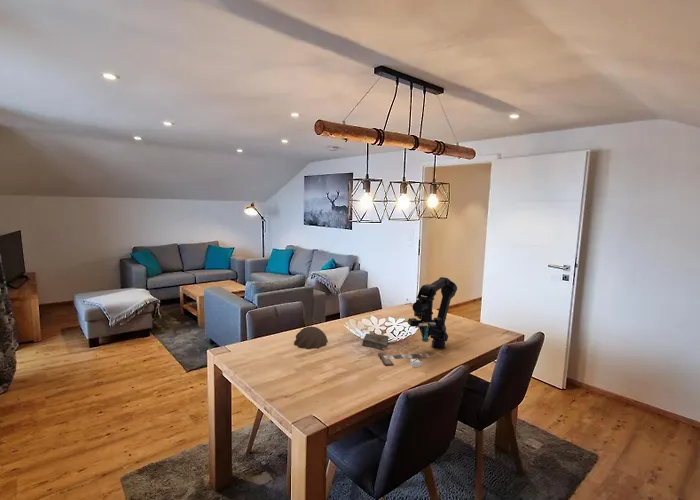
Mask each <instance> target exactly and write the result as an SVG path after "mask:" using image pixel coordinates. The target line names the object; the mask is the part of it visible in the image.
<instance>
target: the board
mask: <svg viewBox="0 0 700 500" xmlns="http://www.w3.org/2000/svg"><path fill="white" fill-rule="evenodd" d="M377 355H378V357H379V358H380V360H381V362H382V363H383V365H384V366H385V367H392V366H393V367H394V366H395V364H394V362H393V360H401V359H419V358H430V357H431V356H430V355H429V353H411V354H408V353H407V354H393V355H392V354H391V355H388V354H387V353H386V351H385V352H378V353H377Z"/></svg>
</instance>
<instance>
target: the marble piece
mask: <svg viewBox="0 0 700 500" xmlns="http://www.w3.org/2000/svg"><path fill="white" fill-rule="evenodd" d="M388 339H390V337H389V336H388V335H385V334H378V333H365V335H364V337H363V339H362V343H361V344H362V346H363V347H366V348H370V349H375V350H379V351H385V349H387V347H388V344H389V340H388Z"/></svg>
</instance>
